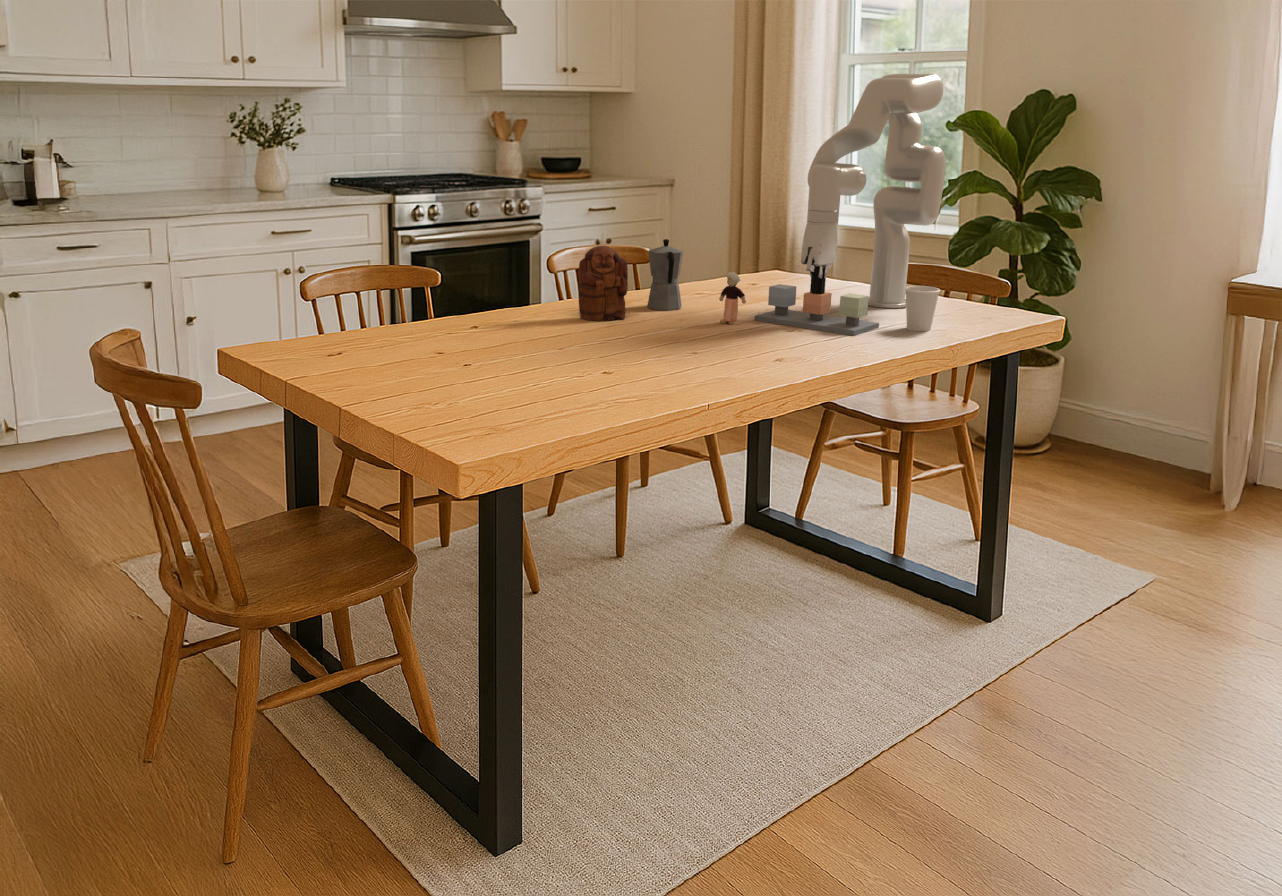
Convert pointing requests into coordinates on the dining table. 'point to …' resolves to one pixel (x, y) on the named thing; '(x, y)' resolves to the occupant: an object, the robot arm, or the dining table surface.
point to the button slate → (782, 295)
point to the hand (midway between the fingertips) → (817, 293)
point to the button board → (817, 321)
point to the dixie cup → (920, 307)
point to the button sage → (853, 305)
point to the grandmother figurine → (731, 299)
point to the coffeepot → (665, 278)
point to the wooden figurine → (602, 284)
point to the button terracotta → (817, 303)
